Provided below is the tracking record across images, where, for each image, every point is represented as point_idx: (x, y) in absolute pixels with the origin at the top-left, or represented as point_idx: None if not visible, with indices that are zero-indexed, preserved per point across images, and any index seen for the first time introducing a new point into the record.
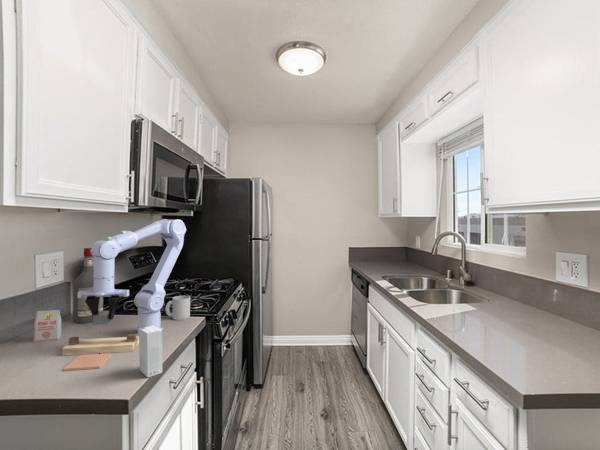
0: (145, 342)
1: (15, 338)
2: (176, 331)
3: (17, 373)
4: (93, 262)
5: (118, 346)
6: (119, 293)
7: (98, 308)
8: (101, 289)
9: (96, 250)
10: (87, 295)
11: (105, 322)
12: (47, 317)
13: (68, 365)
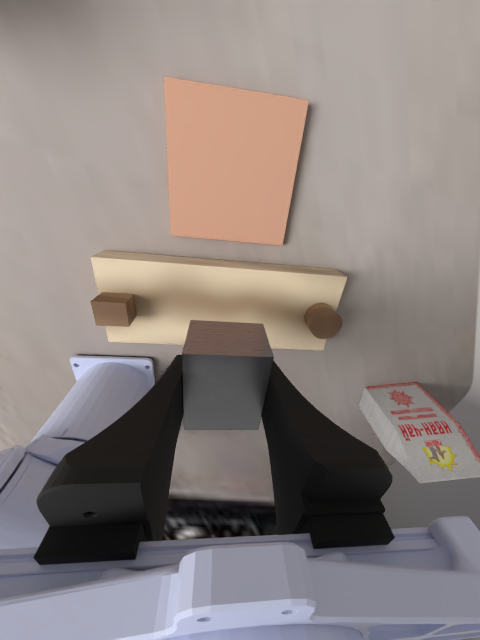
0: None
1: (452, 407)
2: (35, 396)
3: (453, 136)
4: None
5: (150, 259)
6: None
7: (266, 437)
8: None
9: None
10: (393, 556)
11: (198, 325)
12: (438, 450)
13: (297, 136)
